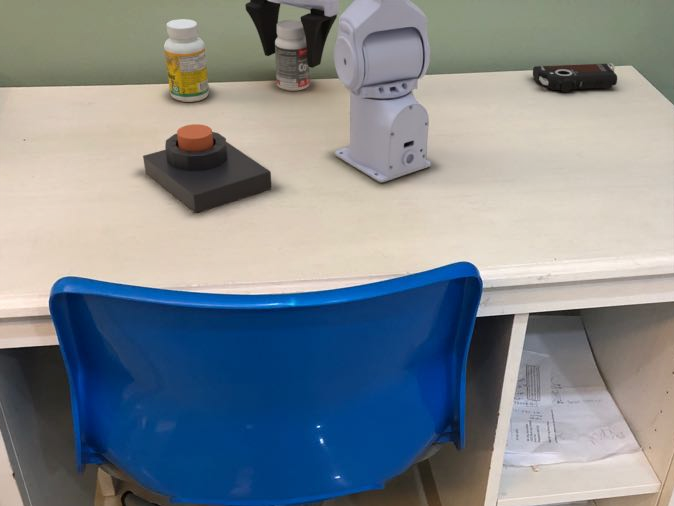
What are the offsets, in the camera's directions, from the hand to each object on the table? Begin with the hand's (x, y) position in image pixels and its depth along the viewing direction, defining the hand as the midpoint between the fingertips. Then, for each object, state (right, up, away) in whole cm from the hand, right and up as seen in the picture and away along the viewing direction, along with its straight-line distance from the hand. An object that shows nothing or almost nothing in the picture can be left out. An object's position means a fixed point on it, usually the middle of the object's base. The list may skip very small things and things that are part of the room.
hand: (292, 59), depth 122 cm
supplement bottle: (-14, -6, -1) cm, 15 cm away
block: (-8, -22, -21) cm, 32 cm away
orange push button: (-9, -19, -22) cm, 30 cm away
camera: (+41, -2, +5) cm, 41 cm away
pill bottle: (0, -3, +2) cm, 4 cm away
